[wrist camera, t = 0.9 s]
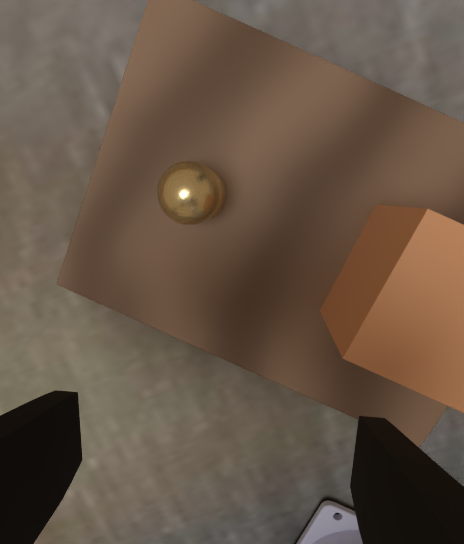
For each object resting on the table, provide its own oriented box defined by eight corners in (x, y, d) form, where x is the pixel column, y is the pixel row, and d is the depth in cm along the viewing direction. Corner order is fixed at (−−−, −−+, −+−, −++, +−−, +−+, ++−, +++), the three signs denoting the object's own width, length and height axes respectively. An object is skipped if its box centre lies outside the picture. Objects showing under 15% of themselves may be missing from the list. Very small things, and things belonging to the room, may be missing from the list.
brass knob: (235, 179, 16) (226, 174, 12) (214, 229, 16) (200, 238, 13) (186, 157, 16) (162, 146, 12) (167, 207, 16) (139, 211, 13)
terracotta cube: (487, 254, 15) (591, 282, 10) (423, 357, 17) (489, 424, 12) (376, 204, 15) (428, 208, 10) (319, 310, 17) (342, 358, 12)
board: (567, 184, 16) (598, 183, 14) (408, 427, 19) (420, 446, 18) (163, 2, 16) (153, -18, 14) (72, 277, 19) (56, 284, 18)
